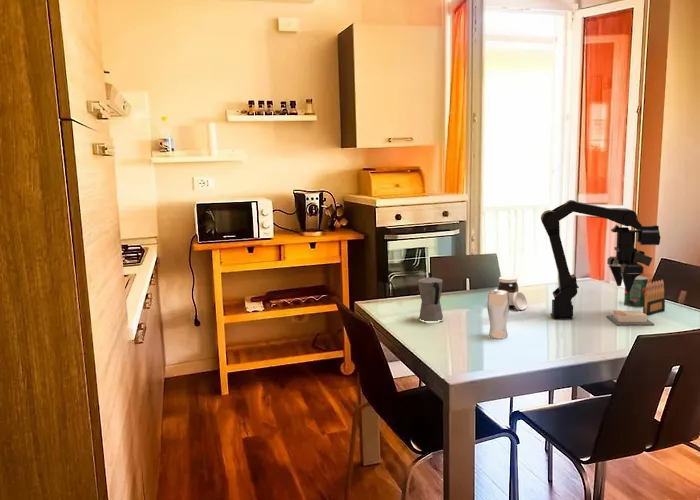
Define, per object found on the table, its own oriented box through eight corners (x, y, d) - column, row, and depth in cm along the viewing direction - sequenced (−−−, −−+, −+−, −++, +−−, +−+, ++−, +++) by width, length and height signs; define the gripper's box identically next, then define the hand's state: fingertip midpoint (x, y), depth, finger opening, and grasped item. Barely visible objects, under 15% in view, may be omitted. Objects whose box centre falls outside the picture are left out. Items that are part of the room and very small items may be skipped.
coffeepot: (413, 316, 214) (412, 270, 211) (437, 314, 216) (436, 268, 213) (425, 327, 199) (424, 277, 196) (451, 325, 201) (450, 276, 198)
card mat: (617, 325, 193) (617, 324, 193) (606, 317, 204) (606, 315, 204) (654, 325, 192) (654, 323, 192) (641, 316, 202) (641, 315, 202)
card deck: (646, 321, 194) (646, 314, 194) (619, 322, 195) (619, 314, 195) (639, 317, 200) (640, 310, 200) (613, 317, 201) (613, 310, 201)
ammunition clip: (647, 315, 204) (648, 283, 202) (642, 314, 205) (643, 282, 204) (664, 311, 209) (666, 279, 207) (659, 310, 211) (661, 278, 209)
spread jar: (500, 303, 230) (500, 274, 229) (529, 305, 225) (529, 276, 224) (494, 310, 220) (494, 280, 218) (524, 312, 215) (524, 282, 213)
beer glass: (485, 333, 190) (485, 289, 188) (506, 332, 190) (506, 289, 187) (489, 339, 183) (489, 294, 181) (511, 339, 183) (511, 294, 181)
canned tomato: (650, 307, 215) (651, 278, 213) (629, 307, 215) (630, 279, 214) (640, 302, 223) (641, 274, 221) (620, 302, 223) (621, 275, 222)
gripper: (661, 248, 187) (658, 294, 189) (639, 241, 205) (637, 283, 207) (625, 249, 188) (623, 294, 190) (607, 241, 206) (606, 283, 209)
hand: (623, 288), depth 199 cm, fingers open, 9 cm apart
